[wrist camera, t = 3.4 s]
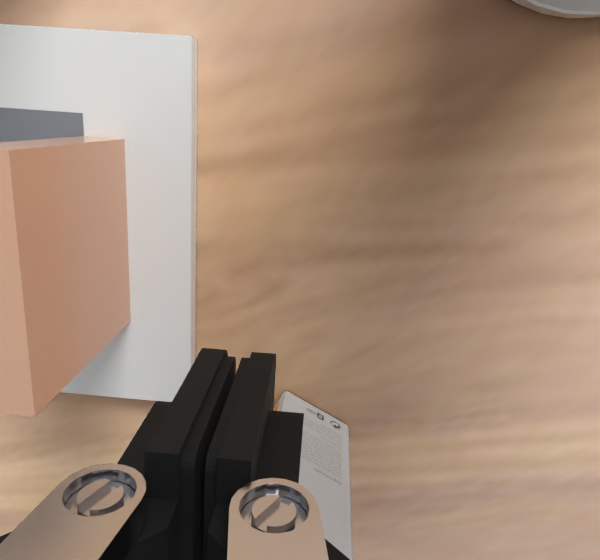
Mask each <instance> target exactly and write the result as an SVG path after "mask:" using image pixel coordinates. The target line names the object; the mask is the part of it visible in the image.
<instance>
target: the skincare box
mask: <svg viewBox="0 0 600 560" xmlns="http://www.w3.org/2000/svg"><path fill="white" fill-rule="evenodd" d="M273 411H284V412H296V413H304V420H303V432H302V445H301V458H300V471H299V484H300V485H302V486H303V487H305V488H307V489H308V490H309V491H310V492H311V493H312V495H313V496H314V497H315V499H316V501H317V504H318V506H319V511H320V516H321V522H322V527H323V532H324V537H325V539H326V540H328V541H329V542H330V543H331V544H332V545H333V546H335V547H336V548H337V549H338V550H339V551H340V552H342V553H343V554H344V555H345V556H346V557H348V558H349V559H350V560H353V552H352V521H351V491H350V456H349V427H348V426H347V425H346V424H344V423H343V422H341V421H339V420H337V419H336V418H334V417H332V416H330V415H329V414H327V413H325V412H323V411H321V410H320V409H318V408H316V407H314V406H312V405H311V404H309V403H307V402H306V401H304V400H302V399H300V398H299V397H297V396H295V395H294V394H292V393H290V392H288V391H285V392H284V393H283V394H282V396H281V397H280V399H279V401H278V402H277V404H276V405H275V407H274V409H273Z"/></svg>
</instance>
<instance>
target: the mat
mask: <svg viewBox="0 0 600 560" xmlns="http://www.w3.org/2000/svg"><path fill="white" fill-rule="evenodd" d="M80 136H92V137H106V138H120V139H125V166H126V196H127V225H128V255H129V285H130V314H131V321H130V322H129V323H128V324H127V325H126V326H125V327H124V328H123V329H122V330H121V331H120V332H119V333H118V334H117V335H116V336H115V337H114V338H113V339H112V340H111V341H110V342H109V343H108V344H107V345H106V346H105V347H104V348H103V349H102V350H101V351H100V352H99V353H98V354H97V355H96V356H95V357H94V358H93V359H92V360H91V361H90V362H89V363H88V364H87V365H86V366H85V367H84V368H83V369H82V370H81V371H80V372H79V373H78V374H77V375H76V376H75V377H74V378H73V379H72V380H71V381H70V382H69V383H68V384H67V385H66V386H65V387H64V388H63V389H62V390H61V391H60V392H63V393H74V394H85V395H96V396H107V397H118V398H129V399H140V400H152V401H166V402H172V401H173V399H174V397H175V395H176V394H177V392H178V390H179V388H180V387H181V385H182V383H183V381H184V379H185V378H186V376H187V374H188V372H189V370H190V369H191V367H192V365H193V363H194V362H195V343H196V187H197V39H196V38H194V37H193V36H183V35H168V34H152V33H136V32H121V31H105V30H90V29H74V28H58V27H43V26H27V25H11V24H0V142H10V141H24V140H38V139H52V138H66V137H80Z"/></svg>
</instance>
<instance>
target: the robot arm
mask: <svg viewBox="0 0 600 560" xmlns="http://www.w3.org/2000/svg"><path fill="white" fill-rule="evenodd" d="M512 1H514V2H515V3H517V4H519V5H522V6H524V7H527V8H529V9H532V10H534V11H537V12H539V13H541V14H546V15H552V16H558V17H564V18H570V19H571V18H595V17H600V0H512ZM275 369H276V354H268V353H256V352H252V353H251V356H250V358H242V359H241V362H240V364H239V367H238V370H237V373H236V375H235V371H236V359H235V357H228V354H227V350H219V349H207V348H202V349H201V351H200V353H199V354H198V356H197V358H196V360H195V362H194V363H193V365H192V367H191V369H190V370H189V372H188V374H187V376H186V378H185V379H184V381H183V383H182V385H181V387H180V388H179V390H178V392H177V394H176V395H175V397H174V399H173V401H172V402H166V401H157V402H156V403H155V404H154V405H153V407H152V409H151V410H150V412H149V413H148V415H147V417H146V418H145V420H144V421H143V423H142V425H141V426H140V428H139V430H138V431H137V433H136V434H135V436H134V438H133V439H132V441H131V442H130V444H129V446H128V447H127V449H126V451H125V452H124V454H123V455H122V457H121V459H120V460H119V462H118V463H117V464H102V465H95V466H92V467H88V468H85V469H82V470H80V471H78V472H76V473H74V474H72V475H70V476H69V477H68V478H66V479H65V480H64V481H63V482H61V483H60V484H59V485H58V486H57V487H56V488H55V489H54V490H53V491H52V492H51V493H50V494H49V495H48V496H47V497H46V498H45V499H44V500H43V501H42V502H41V503H40V504H39V505H38V506H37V507H36V508H35V509H34V510H33V511H32V512H31V513H30V514H29V515H28V516H27V517H26V518H25V519H24V520H23V521H22V522H21V523H20V524H19V525H18V526H17V527H16V528H15V529H14V530H13V531H12V532H10V533H8V534H5V535H3V536H1V537H0V560H350V559H349V558H348V557H346V556H345V555H344V554H343V553H342V552H340V551H339V550H338V549H337V548H336V547H335V546H333V545H332V544H331V543H330V542H329V541H328V540H326V539H325V537H324V532H323V527H322V522H321V516H320V511H319V506H318V504H317V501H316V499H315V497H314V496H313V495H312V493H311V492H310V491H309V490H308V489H307V488H305V487H303V486H302V485H300V484H299V471H300V458H301V445H302V432H303V420H304V413H296V412H284V411H273V403H274V386H275Z"/></svg>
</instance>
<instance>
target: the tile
mask: <svg viewBox="0 0 600 560" xmlns="http://www.w3.org/2000/svg"><path fill="white" fill-rule="evenodd" d="M130 321H131V314H130V285H129V255H128V225H127V196H126V166H125V139H120V138H106V137H92V136H80V137H66V138H52V139H38V140H24V141H10V142H0V414H5V415H16V416H27V417H36V416H37V415H38V414H39V413H40V412H41V411H42V410H43V409H44V408H45V407H46V406H47V405H48V404H49V403H50V402H51V401H52V400H53V399H54V398H55V397H56V396H57V395H58V394H59V392H60V391H61V390H62V389H63V388H64V387H65V386H66V385H67V384H68V383H69V382H70V381H71V380H72V379H73V378H74V377H75V376H76V375H77V374H78V373H79V372H80V371H81V370H82V369H83V368H84V367H85V366H86V365H87V364H88V363H89V362H90V361H91V360H92V359H93V358H94V357H95V356H96V355H97V354H98V353H99V352H100V351H101V350H102V349H103V348H104V347H105V346H106V345H107V344H108V343H109V342H110V341H111V340H112V339H113V338H114V337H115V336H116V335H117V334H118V333H119V332H120V331H121V330H122V329H123V328H124V327H125V326H126V325H127V324H128V323H129V322H130Z"/></svg>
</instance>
